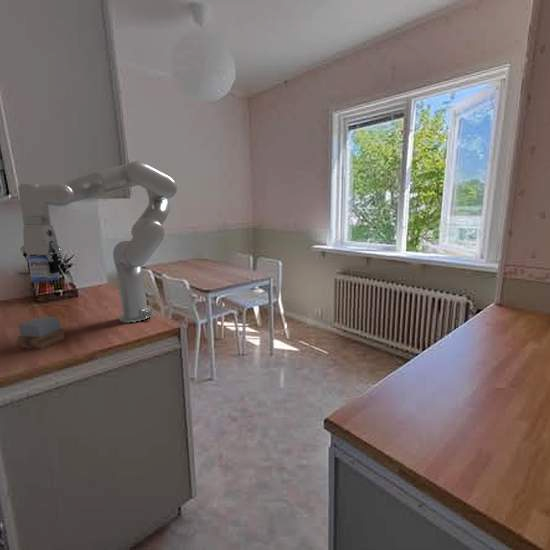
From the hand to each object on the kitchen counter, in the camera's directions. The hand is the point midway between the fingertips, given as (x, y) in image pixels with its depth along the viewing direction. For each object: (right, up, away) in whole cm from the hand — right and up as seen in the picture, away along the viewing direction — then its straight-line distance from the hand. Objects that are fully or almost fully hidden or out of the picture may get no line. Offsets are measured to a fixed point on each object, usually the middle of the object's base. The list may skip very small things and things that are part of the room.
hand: (44, 272), depth 118 cm
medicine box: (0, -3, +1) cm, 3 cm away
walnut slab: (-1, -25, 0) cm, 25 cm away
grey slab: (-1, -21, 0) cm, 21 cm away
